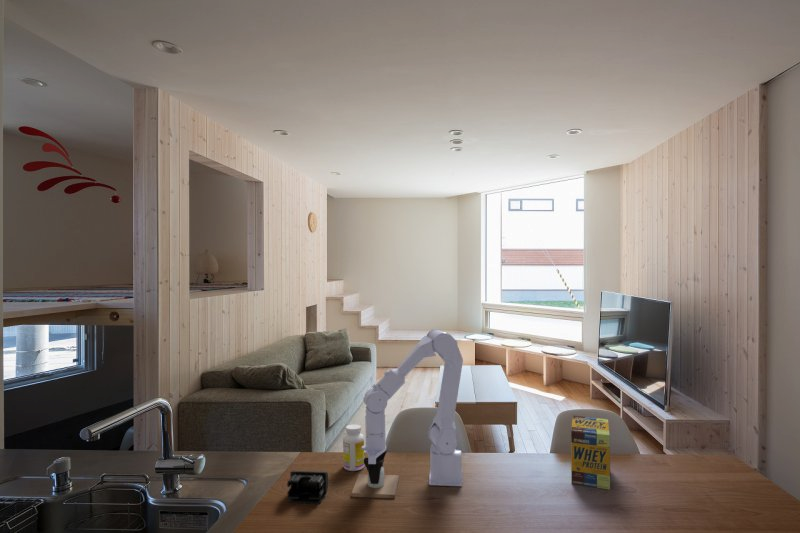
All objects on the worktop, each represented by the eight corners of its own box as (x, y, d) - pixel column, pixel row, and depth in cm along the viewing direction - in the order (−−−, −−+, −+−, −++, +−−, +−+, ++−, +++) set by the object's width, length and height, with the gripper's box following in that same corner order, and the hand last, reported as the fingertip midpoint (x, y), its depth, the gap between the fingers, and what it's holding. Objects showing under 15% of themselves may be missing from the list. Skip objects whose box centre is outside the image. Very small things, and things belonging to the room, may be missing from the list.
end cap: (328, 491, 134) (328, 467, 134) (322, 504, 127) (321, 479, 127) (294, 490, 135) (293, 467, 135) (285, 503, 128) (285, 478, 128)
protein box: (571, 484, 137) (570, 430, 137) (573, 463, 151) (572, 414, 151) (610, 490, 133) (610, 435, 133) (609, 468, 148) (608, 418, 148)
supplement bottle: (366, 463, 153) (365, 423, 153) (362, 472, 147) (362, 430, 147) (345, 462, 154) (345, 423, 154) (341, 471, 147) (340, 430, 147)
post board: (399, 478, 142) (398, 467, 142) (394, 498, 130) (394, 485, 130) (359, 477, 143) (359, 466, 143) (351, 496, 131) (351, 484, 131)
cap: (374, 478, 140) (374, 462, 140) (387, 482, 137) (387, 466, 137) (364, 484, 136) (364, 468, 136) (377, 489, 133) (377, 472, 133)
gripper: (365, 423, 144) (366, 467, 144) (357, 440, 130) (357, 490, 130) (389, 423, 144) (389, 468, 144) (382, 441, 129) (383, 491, 129)
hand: (376, 479), depth 137 cm, fingers closed on cap, 5 cm apart
